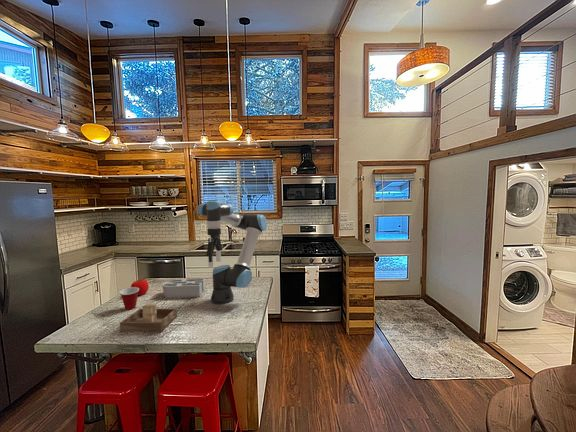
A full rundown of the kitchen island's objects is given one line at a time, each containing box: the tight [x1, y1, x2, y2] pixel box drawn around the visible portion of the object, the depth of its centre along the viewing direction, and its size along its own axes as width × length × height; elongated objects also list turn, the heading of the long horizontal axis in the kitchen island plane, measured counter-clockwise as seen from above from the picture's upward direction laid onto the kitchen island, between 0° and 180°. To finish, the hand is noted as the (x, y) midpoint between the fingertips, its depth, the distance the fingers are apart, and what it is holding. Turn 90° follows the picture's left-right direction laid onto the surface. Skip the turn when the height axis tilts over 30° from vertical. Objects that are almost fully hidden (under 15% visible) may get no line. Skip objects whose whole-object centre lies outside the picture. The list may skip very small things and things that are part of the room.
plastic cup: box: [119, 286, 139, 311], centre depth 172 cm, size 11×11×12 cm
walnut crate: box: [119, 308, 178, 333], centre depth 150 cm, size 18×22×5 cm
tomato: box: [130, 279, 150, 296], centre depth 197 cm, size 12×12×11 cm
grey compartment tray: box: [161, 278, 206, 299], centre depth 198 cm, size 17×28×9 cm, turn 94°
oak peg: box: [141, 302, 158, 322], centre depth 150 cm, size 5×5×10 cm
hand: (215, 264), depth 157 cm, fingers open, 13 cm apart
